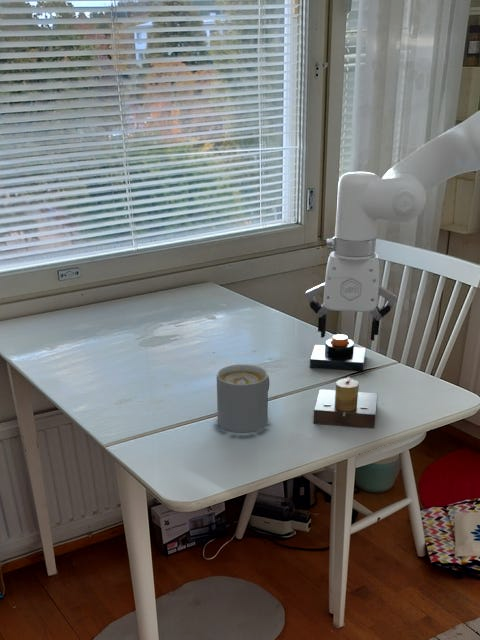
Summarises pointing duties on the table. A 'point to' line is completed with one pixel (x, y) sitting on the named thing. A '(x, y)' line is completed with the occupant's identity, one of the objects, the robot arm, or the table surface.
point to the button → (340, 340)
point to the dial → (346, 394)
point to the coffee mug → (242, 398)
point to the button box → (338, 357)
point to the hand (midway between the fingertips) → (347, 336)
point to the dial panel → (355, 418)
